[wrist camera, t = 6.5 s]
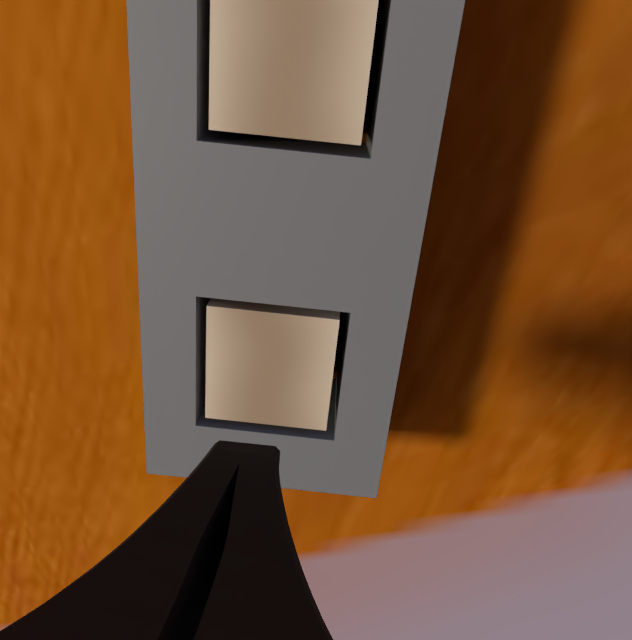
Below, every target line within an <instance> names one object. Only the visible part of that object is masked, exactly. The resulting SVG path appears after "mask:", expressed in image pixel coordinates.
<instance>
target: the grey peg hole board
mask: <svg viewBox="0 0 632 640" xmlns="http://www.w3.org/2000/svg"><path fill="white" fill-rule="evenodd" d="M126 1H127V24H128V47H129V71H130V94H131V118H132V141H133V165H134V188H135V212H136V235H137V258H138V282H139V305H140V329H141V352H142V376H143V399H144V423H145V446H146V469H147V473H149V474H159V475H168V476H177V477H186V478H187V477H188V476H189V475H190V474H191V473H192V471H193V470H194V469H195V468H196V467H197V465H198V464H199V463H200V462H201V461H202V459H203V458H204V457H205V456H206V454H207V453H208V452H209V450H210V449H211V448H212V446H213V445H214V444H215V443H216V442H218V441H219V440H222V441H232V442H241V443H251V444H261V445H270V446H276V447H277V448H278V449H279V450H280V462H279V476H280V484H281V488H288V489H297V490H306V491H315V492H324V493H334V494H343V495H352V496H361V497H370V498H377V492H378V487H379V481H380V475H381V470H382V464H383V459H384V453H385V447H386V442H387V436H388V430H389V425H390V419H391V414H392V408H393V402H394V397H395V391H396V386H397V380H398V374H399V369H400V363H401V358H402V352H403V346H404V341H405V335H406V330H407V324H408V318H409V313H410V307H411V302H412V296H413V290H414V285H415V279H416V274H417V268H418V262H419V257H420V251H421V246H422V240H423V234H424V229H425V223H426V218H427V212H428V206H429V201H430V195H431V190H432V184H433V178H434V173H435V167H436V161H437V156H438V150H439V145H440V139H441V133H442V128H443V122H444V117H445V111H446V105H447V100H448V94H449V89H450V83H451V77H452V72H453V66H454V61H455V55H456V49H457V44H458V38H459V33H460V27H461V21H462V16H463V10H464V5H465V0H384V2H383V10H382V18H381V26H380V34H379V42H378V50H377V58H376V66H375V74H374V82H373V90H372V98H371V106H370V114H369V122H368V130H367V138H366V143H361V145H351V144H341V143H332V142H322V141H312V140H303V139H293V138H283V137H273V136H264V135H254V134H244V133H235V132H225V131H215V130H209V59H210V0H126ZM211 298H216V299H225V300H234V301H244V302H253V303H263V304H272V305H282V306H291V307H301V308H310V309H319V310H329V311H338V312H345V313H344V321H343V329H342V337H341V345H340V353H339V361H338V369H337V377H336V379H332V387H331V396H330V404H329V412H328V420H327V428H326V431H324V430H314V429H305V428H296V427H286V426H277V425H268V424H259V423H249V422H240V421H231V420H221V419H212V418H205V394H206V311H207V304H208V303H209V301H210V299H211Z"/></svg>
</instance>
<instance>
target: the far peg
mask: <svg viewBox="0 0 632 640" xmlns="http://www.w3.org/2000/svg"><path fill="white" fill-rule="evenodd" d="M339 322H340V312H338V311H329V310H319V309H310V308H301V307H291V306H282V305H272V304H263V303H253V302H244V301H234V300H225V299H216V298H211V299H210V301H209V303H208V304H207V311H206V394H205V418H212V419H221V420H231V421H240V422H249V423H259V424H268V425H277V426H286V427H296V428H305V429H314V430H324V431H326V428H327V420H328V412H329V404H330V396H331V387H332V379H333V371H334V363H335V355H336V346H337V338H338V330H339Z"/></svg>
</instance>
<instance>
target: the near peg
mask: <svg viewBox="0 0 632 640" xmlns="http://www.w3.org/2000/svg"><path fill="white" fill-rule="evenodd" d="M378 2H379V0H210V59H209V130H215V131H225V132H235V133H244V134H254V135H264V136H273V137H283V138H293V139H303V140H312V141H322V142H332V143H341V144H351V145H361V141H362V133H363V125H364V117H365V109H366V100H367V92H368V84H369V76H370V68H371V59H372V51H373V43H374V35H375V27H376V18H377V10H378Z"/></svg>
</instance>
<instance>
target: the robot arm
mask: <svg viewBox="0 0 632 640" xmlns="http://www.w3.org/2000/svg"><path fill="white" fill-rule="evenodd" d="M279 462H280V450H279V449H278V448H277V447H276V446H270V445H261V444H251V443H241V442H232V441H222V440H219V441H218V442H216V443H215V444H214V445H213V446H212V448H211V449H210V450H209V452H208V453H207V454H206V456H205V457H204V458H203V459H202V461H201V462H200V463H199V464H198V465H197V467H196V468H195V469H194V470H193V471H192V473H191V474H190V475H189V476H188V477H187V478H186V480H185V481H184V482H183V483H182V484H181V485H180V486H179V487H178V488H177V489H176V490H175V492H174V493H173V494H172V495H171V496H170V497H169V498H168V499H167V500H166V501H165V502H164V503H163V504H162V505H161V506H160V507H159V508H158V509H157V510H156V511H155V512H154V513H153V514H152V515H151V516H150V517H149V518H148V519H147V520H146V521H145V522H144V523H143V524H142V525H141V526H140V527H139V528H138V529H137V530H136V531H135V532H134V533H133V534H131V535H130V536H129V537H128V538H127V539H126V540H125V541H124V542H122V543H121V544H120V545H119V546H118V547H117V548H116V549H114V550H113V551H112V552H111V553H110V554H108V555H107V556H106V557H105V558H104V559H102V560H101V561H100V562H99V563H97V564H96V565H95V566H94V567H93V568H91V569H90V570H89V571H87V572H86V573H85V574H83V575H82V576H81V577H79V578H78V579H77V580H75V581H74V582H73V583H71V584H70V585H69V586H67V587H66V588H65V589H63V590H62V591H61V592H59V593H58V594H56V595H55V596H54V597H52V598H51V599H49V600H48V601H46V602H45V603H44V604H42V605H41V606H39V607H38V608H36V609H35V610H33V611H31V612H30V613H28V614H27V615H25V616H23V617H22V618H20V619H19V620H17V621H16V622H14V623H12V624H11V625H9V626H8V627H6V628H5V629H3V630H1V631H0V640H333V639H332V637H331V635H330V633H329V631H328V629H327V627H326V625H325V623H324V621H323V619H322V616H321V614H320V612H319V609H318V607H317V605H316V603H315V600H314V598H313V596H312V593H311V591H310V588H309V586H308V583H307V581H306V578H305V575H304V573H303V570H302V567H301V564H300V561H299V558H298V555H297V552H296V549H295V546H294V542H293V539H292V536H291V532H290V528H289V525H288V520H287V516H286V511H285V507H284V503H283V497H282V492H281V484H280V476H279Z"/></svg>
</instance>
